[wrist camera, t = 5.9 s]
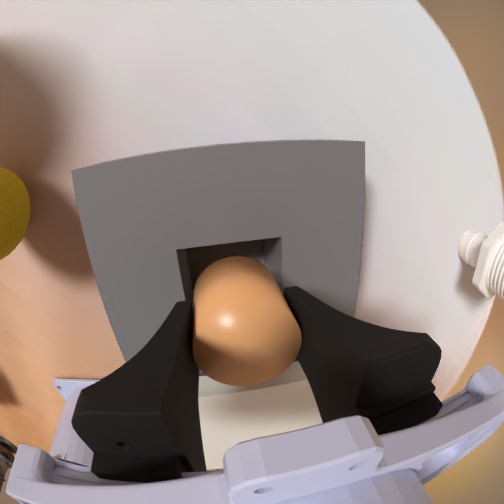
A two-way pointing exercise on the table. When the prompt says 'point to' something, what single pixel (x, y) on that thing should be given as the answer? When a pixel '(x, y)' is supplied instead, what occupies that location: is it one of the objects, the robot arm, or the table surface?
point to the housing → (221, 222)
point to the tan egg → (242, 323)
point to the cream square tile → (253, 411)
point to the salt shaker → (6, 457)
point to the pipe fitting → (485, 260)
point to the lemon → (12, 211)
